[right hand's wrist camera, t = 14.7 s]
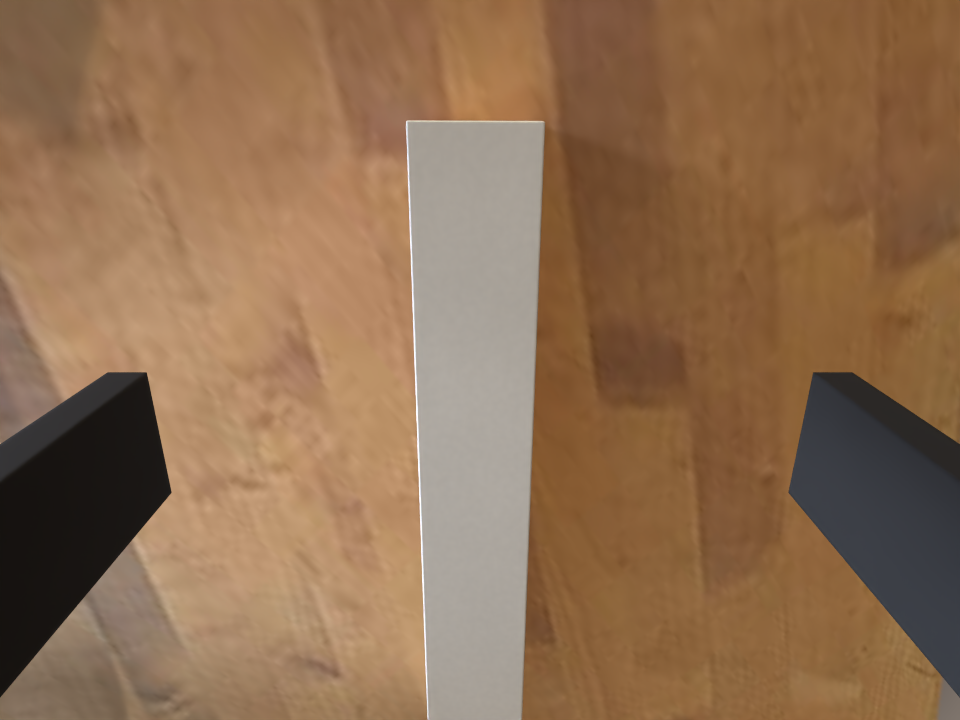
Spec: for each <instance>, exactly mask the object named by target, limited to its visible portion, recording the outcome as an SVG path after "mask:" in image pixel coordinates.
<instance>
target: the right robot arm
mask: <svg viewBox="0 0 960 720" xmlns="http://www.w3.org/2000/svg"><path fill="white" fill-rule="evenodd" d="M170 494H171V488H170V483H169V478H168V473H167V468H166V464H165V459H164V454H163V449H162V444H161V439H160V435H159V430H158V425H157V420H156V415H155V410H154V406H153V401H152V396H151V391H150V386H149V381H148V377H147V372H108V373H106V374H105V375H103V376H102V377H100V378H99V379H97V380H96V381H94V382H93V383H91V384H90V385H88V386H87V387H85V388H84V389H82V390H81V391H79V392H78V393H76V394H75V395H73V396H72V397H70V398H69V399H67V400H66V401H64V402H63V403H61V404H60V405H58V406H57V407H55V408H54V409H52V410H51V411H49V412H48V413H46V414H45V415H43V416H42V417H40V418H39V419H37V420H36V421H34V422H33V423H31V424H30V425H28V426H27V427H25V428H24V429H22V430H21V431H19V432H18V433H16V434H15V435H13V436H12V437H10V438H9V439H7V440H6V441H4V442H3V443H1V444H0V697H1V696H2V695H3V694H4V692H5V691H6V690H7V689H8V688H9V686H10V685H11V684H12V683H13V682H14V680H15V679H16V678H17V677H18V676H19V674H20V673H21V672H22V671H23V670H24V668H25V667H26V666H27V665H28V664H29V662H30V661H31V660H32V659H33V658H34V656H35V655H36V654H37V653H38V652H39V651H40V649H41V648H42V647H43V646H44V645H45V643H46V642H47V641H48V640H49V639H50V637H51V636H52V635H53V634H54V633H55V631H56V630H57V629H58V628H59V627H60V625H61V624H62V623H63V622H64V621H65V619H66V618H67V617H68V616H69V615H70V613H71V612H72V611H73V610H74V609H75V607H76V606H77V605H78V604H79V603H80V601H81V600H82V599H83V598H84V597H85V595H86V594H87V593H88V592H89V591H90V590H91V588H92V587H93V586H94V585H95V584H96V582H97V581H98V580H99V579H100V578H101V576H102V575H103V574H104V573H105V572H106V570H107V569H108V568H109V567H110V566H111V564H112V563H113V562H114V561H115V560H116V558H117V557H118V556H119V555H120V554H121V552H122V551H123V550H124V549H125V548H126V546H127V545H128V544H129V543H130V542H131V540H132V539H133V538H134V537H135V536H136V535H137V533H138V532H139V531H140V530H141V529H142V527H143V526H144V525H145V524H146V523H147V521H148V520H149V519H150V518H151V517H152V515H153V514H154V513H155V512H156V511H157V509H158V508H159V507H160V506H161V505H162V503H163V502H164V501H165V500H166V499H167V497H168V496H169V495H170ZM789 494H790V495H791V496H792V497H793V499H794V500H795V501H796V502H797V503H798V505H799V506H800V507H801V508H802V509H803V511H804V512H805V513H806V514H807V515H808V517H809V518H810V519H811V520H812V521H813V523H814V524H815V525H816V526H817V527H818V529H819V530H820V531H821V532H822V533H823V535H824V536H825V537H826V538H827V539H828V540H829V542H830V543H831V544H832V545H833V546H834V548H835V549H836V550H837V551H838V552H839V554H840V555H841V556H842V557H843V558H844V560H845V561H846V562H847V563H848V564H849V566H850V567H851V568H852V569H853V570H854V572H855V573H856V574H857V575H858V576H859V578H860V579H861V580H862V581H863V582H864V584H865V585H866V586H867V587H868V588H869V590H870V591H871V592H872V593H873V594H874V595H875V597H876V598H877V599H878V600H879V601H880V603H881V604H882V605H883V606H884V607H885V609H886V610H887V611H888V612H889V613H890V615H891V616H892V617H893V618H894V619H895V621H896V622H897V623H898V624H899V625H900V627H901V628H902V629H903V630H904V631H905V633H906V634H907V635H908V636H909V637H910V639H911V640H912V641H913V642H914V643H915V645H916V646H917V647H918V648H919V649H920V651H921V652H922V653H923V654H924V655H925V656H926V658H927V659H928V660H929V661H930V662H931V664H932V665H933V666H934V667H935V668H936V670H937V671H938V672H939V673H940V674H941V676H942V677H943V678H944V679H945V680H946V682H947V683H948V684H949V685H950V686H951V688H952V689H953V690H954V691H955V692H956V694H957V695H958V696H959V697H960V444H959V443H957V442H956V441H954V440H953V439H951V438H950V437H948V436H947V435H945V434H944V433H942V432H941V431H939V430H938V429H936V428H935V427H933V426H932V425H930V424H929V423H927V422H926V421H924V420H923V419H921V418H920V417H918V416H917V415H915V414H914V413H912V412H911V411H909V410H908V409H906V408H905V407H903V406H902V405H900V404H899V403H897V402H896V401H894V400H893V399H891V398H890V397H888V396H887V395H885V394H884V393H882V392H881V391H879V390H878V389H876V388H875V387H873V386H872V385H870V384H869V383H867V382H866V381H864V380H863V379H861V378H860V377H858V376H857V375H855V374H854V373H852V372H813V377H812V381H811V386H810V391H809V396H808V401H807V406H806V410H805V415H804V420H803V425H802V430H801V435H800V439H799V444H798V449H797V454H796V459H795V464H794V468H793V473H792V478H791V483H790V488H789Z"/></svg>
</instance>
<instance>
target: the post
mask: <svg viewBox="0 0 960 720" xmlns="http://www.w3.org/2000/svg"><path fill="white" fill-rule="evenodd" d="M406 132H407V160H408V188H409V216H410V243H411V271H412V299H413V327H414V354H415V382H416V410H417V437H418V465H419V493H420V521H421V548H422V576H423V604H424V632H425V659H426V687H427V715H428V720H522V706H523V680H524V654H525V628H526V602H527V576H528V550H529V524H530V499H531V473H532V447H533V421H534V395H535V369H536V343H537V317H538V292H539V266H540V240H541V214H542V188H543V162H544V136H545V122H544V121H407V122H406Z"/></svg>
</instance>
